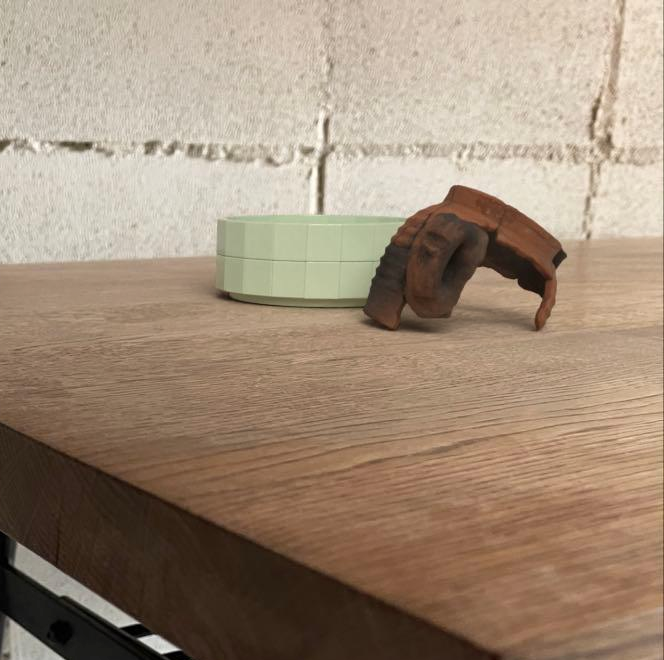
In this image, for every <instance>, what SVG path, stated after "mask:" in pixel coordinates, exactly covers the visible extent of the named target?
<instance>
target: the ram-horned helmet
mask: <svg viewBox="0 0 664 660" xmlns="http://www.w3.org/2000/svg"><path fill="white" fill-rule="evenodd" d="M407 218H408V219H407V220H406V221H405V223H404V224H403V225H402V226H400V227H399V228H398V230H397V233H396V234H395V235H394V236H392V237H391V242H390V244H389V245H388V246H387V247H386V248H385V253H384V255H383V256H382V257H381V258H380V265H379V266H378V267H377V268H376V275H375V276H374V277H373V278H372V280H371V282H372V284H371V287H370V291H369V295H368V298H367V301H366V304H365V306H363V308H362V312H363V314H364V315H365V316H367V317H369V318H370V319H372V320H374V321H376V322H377V323H379V324H381V325H383V326H385V327H387V328H389V329H390V330H392V331H396V330H397V329H398V328H399V326H400V322H401V318H402V312H403V310H404V308H405V307H406V305H407V304H408V307H409V309H410V310H411V311H412V312H413V313H414V314H415V315H416V316H417V317H418V318H420V319H449V318H451V316H452V313H453V309H454V308H455V307H456V305H457V304H458V302H459V299H460V297H461V294H462V292H463V290H464V288H465V286H466V284H467V283H468V282H469V280H471V279H472V278H473V276H474V275H475V273H476V270H477V269H478V268H486V269H491V270H493V271H494V272H496V273H497V274H499V275H500V276H501V277H503V278H504V279H508V280H511V281H512V280H515V281H516V282H517V285H518V286H519V287H520V289H522V290H524V291H527V292H531V293H534V294H536V295H538V296H539V297H540V298H541V302H540V304H539V307H538V308H537V310H536V313H535V316H534V323H533V324H534V327H535V329H536V330H537V331H539V330H542V329H543V328H544V327H545V326H546V324H547V320H548V319H549V318H551V314H552V310H553V309H554V307H555V305H556V296H557V291H558V281H557V274H556V273H557V272H556V271H557V269H558V268H559V267H560V265H561V264H562V263H563V261H564V260H566V259H567V258H568V254H567V252H566V251H565V250H564V249H563V245H562V244H561V242H560V240H559V239H557V238H556V237H555V236H553V235H552V234H551V233H550V232H548V231H547V230H546V229H545V228H544V227H543V226H541V225H540V224H539V223H537V222H536V221H535V220H534V219H532V218H531V217H529V216H527V214H525V213H523V212H522V211H520V210H519V209H518V208H516V207H514V206H512V205H510V204H508V203H505V202H504V201H503V200H502V199H500V198H498V197H496V196H494V195H491V194H489V193H487V192H484V191H482V190H479V189H476V188H473V187H469V186H465V185H463V184H454V185H451V187H450V188H449V190H448V193H447V194H446V196H445V197H444V199H443V200H442V202H439V203H435V204H431V205H429V206H427V207H425V208H423V209H420V210H418V211H417V212H415V214H412V215H411V216H408V217H407Z"/></svg>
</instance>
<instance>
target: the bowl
mask: <svg viewBox="0 0 664 660" xmlns="http://www.w3.org/2000/svg"><path fill="white" fill-rule="evenodd" d="M408 218H409V217H404V216H388V215H387V216H386V215H364V214H363V215H361V214H359V215H358V214H356V215H355V214H250V215H249V214H245V215H230V216H221V217H217V220H216V246H215V247H216V250H215V251H216V255H215V284H214V285H215V288H216V289H217V290H220V291H223V292H227V293H228V295H229V297H230V299H233V300H236V301H239V302H244V303H252V304H258V305H268V306H278V307H279V306H281V307H299V308H301V307H302V308H358V307H359V308H361V307H363V308H364V306H365V304H366V301H367V298H368V295H369V291H370V287H371V284H372V282H371V280H372V278H373V277H374V276H375V275H376V268H377V267H378V266H379V265H380V258H381V257H382V256H383V255H384V253H385V248H386V247H387V246H388V245H389V244H390V242H391V237H392V236H394V235H395V234H396V233H397V230H398V228H399V227H400V226H402V225H403V224H404V223H405V221H406V220H407V219H408Z"/></svg>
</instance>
